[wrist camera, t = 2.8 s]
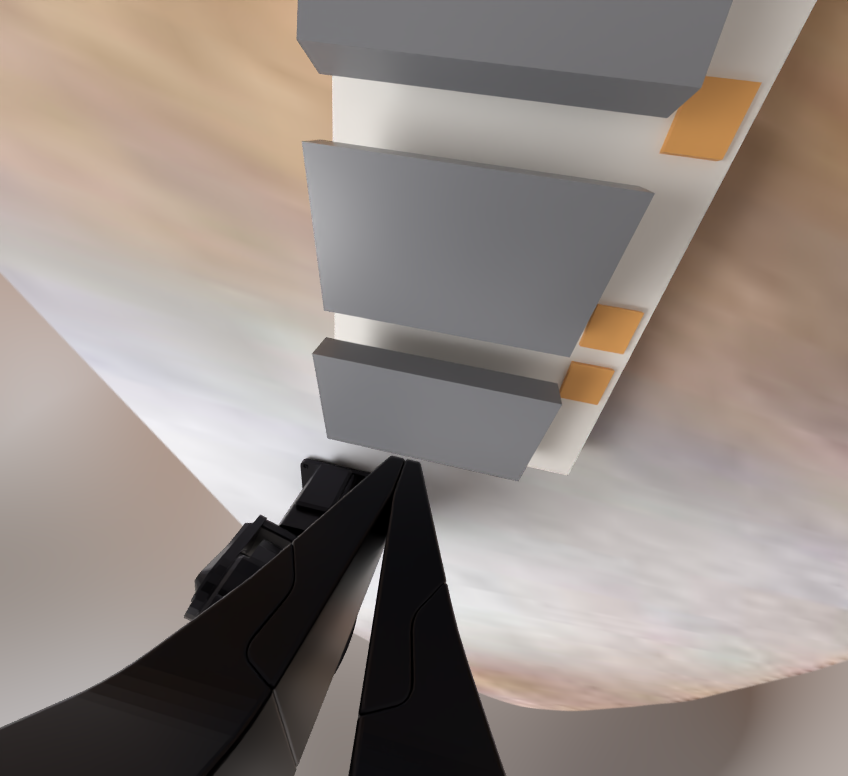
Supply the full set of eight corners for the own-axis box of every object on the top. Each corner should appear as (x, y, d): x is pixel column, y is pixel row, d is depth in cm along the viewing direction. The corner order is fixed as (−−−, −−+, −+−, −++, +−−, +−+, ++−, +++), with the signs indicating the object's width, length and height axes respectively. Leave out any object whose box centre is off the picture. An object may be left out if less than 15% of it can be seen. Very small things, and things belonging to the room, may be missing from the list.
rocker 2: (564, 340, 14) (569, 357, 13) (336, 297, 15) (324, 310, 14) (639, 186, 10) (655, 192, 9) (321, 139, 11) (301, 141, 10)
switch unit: (557, 444, 21) (572, 490, 18) (352, 400, 22) (327, 435, 19) (810, -98, 10) (1002, -285, 6) (365, -130, 11) (307, -303, 7)
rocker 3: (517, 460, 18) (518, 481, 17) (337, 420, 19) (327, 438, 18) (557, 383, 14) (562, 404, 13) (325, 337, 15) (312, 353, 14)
